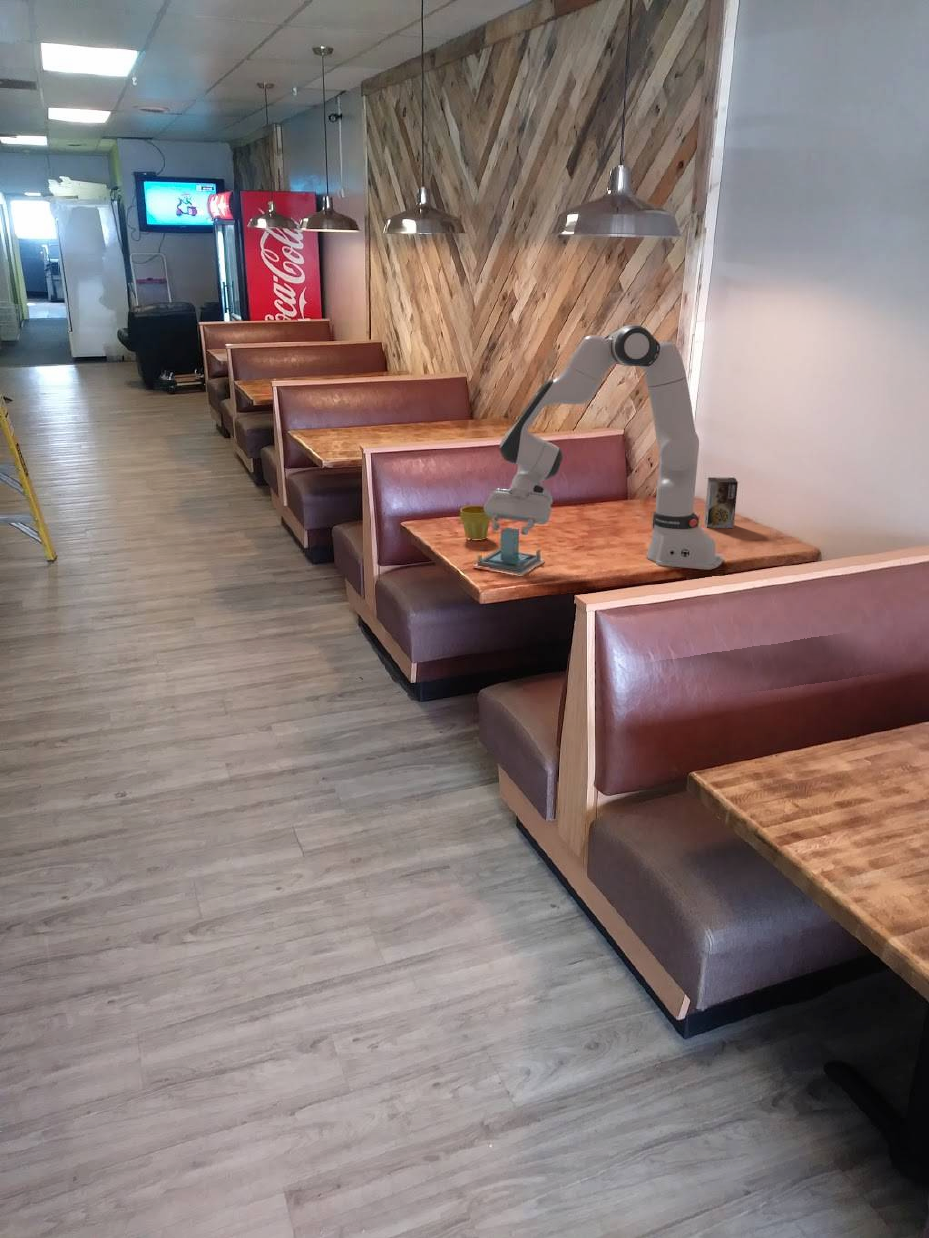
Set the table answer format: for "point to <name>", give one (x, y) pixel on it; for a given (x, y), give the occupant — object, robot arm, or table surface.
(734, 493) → the coffee box
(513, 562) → the teal plate with post
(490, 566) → the base
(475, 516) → the plant pot
